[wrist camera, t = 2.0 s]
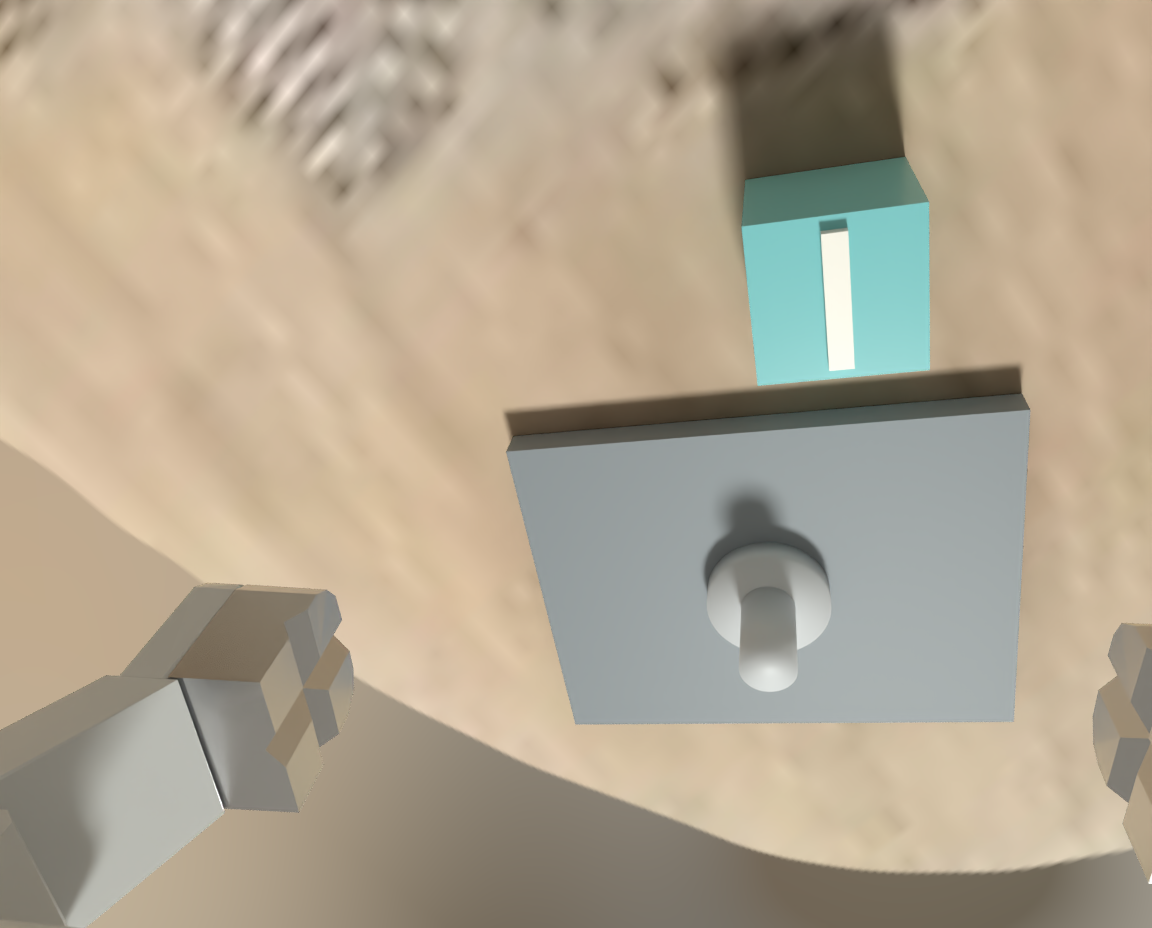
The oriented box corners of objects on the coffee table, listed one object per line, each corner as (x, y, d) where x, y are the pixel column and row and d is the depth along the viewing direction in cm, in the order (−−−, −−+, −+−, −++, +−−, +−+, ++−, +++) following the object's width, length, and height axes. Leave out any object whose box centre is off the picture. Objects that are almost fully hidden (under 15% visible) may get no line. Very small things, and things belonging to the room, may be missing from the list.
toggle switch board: (1022, 393, 32) (1065, 480, 27) (1007, 700, 38) (1040, 812, 34) (513, 436, 36) (475, 517, 31) (580, 704, 43) (556, 805, 38)
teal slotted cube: (905, 156, 29) (930, 205, 24) (907, 305, 31) (931, 374, 26) (745, 179, 30) (741, 229, 25) (759, 321, 32) (757, 390, 28)
